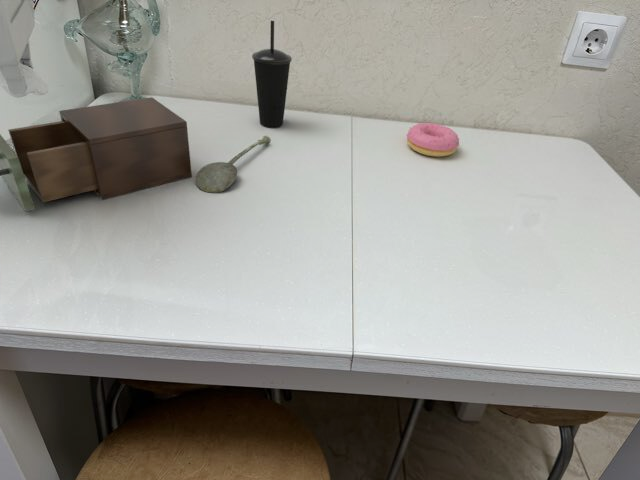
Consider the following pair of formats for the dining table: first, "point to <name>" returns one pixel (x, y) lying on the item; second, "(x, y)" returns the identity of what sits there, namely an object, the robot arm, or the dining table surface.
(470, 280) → the dining table surface
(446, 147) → the doughnut
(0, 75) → the dumpling
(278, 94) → the drinking cup
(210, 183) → the soupspoon
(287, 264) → the dining table surface
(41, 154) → the drawer
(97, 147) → the cabinet
